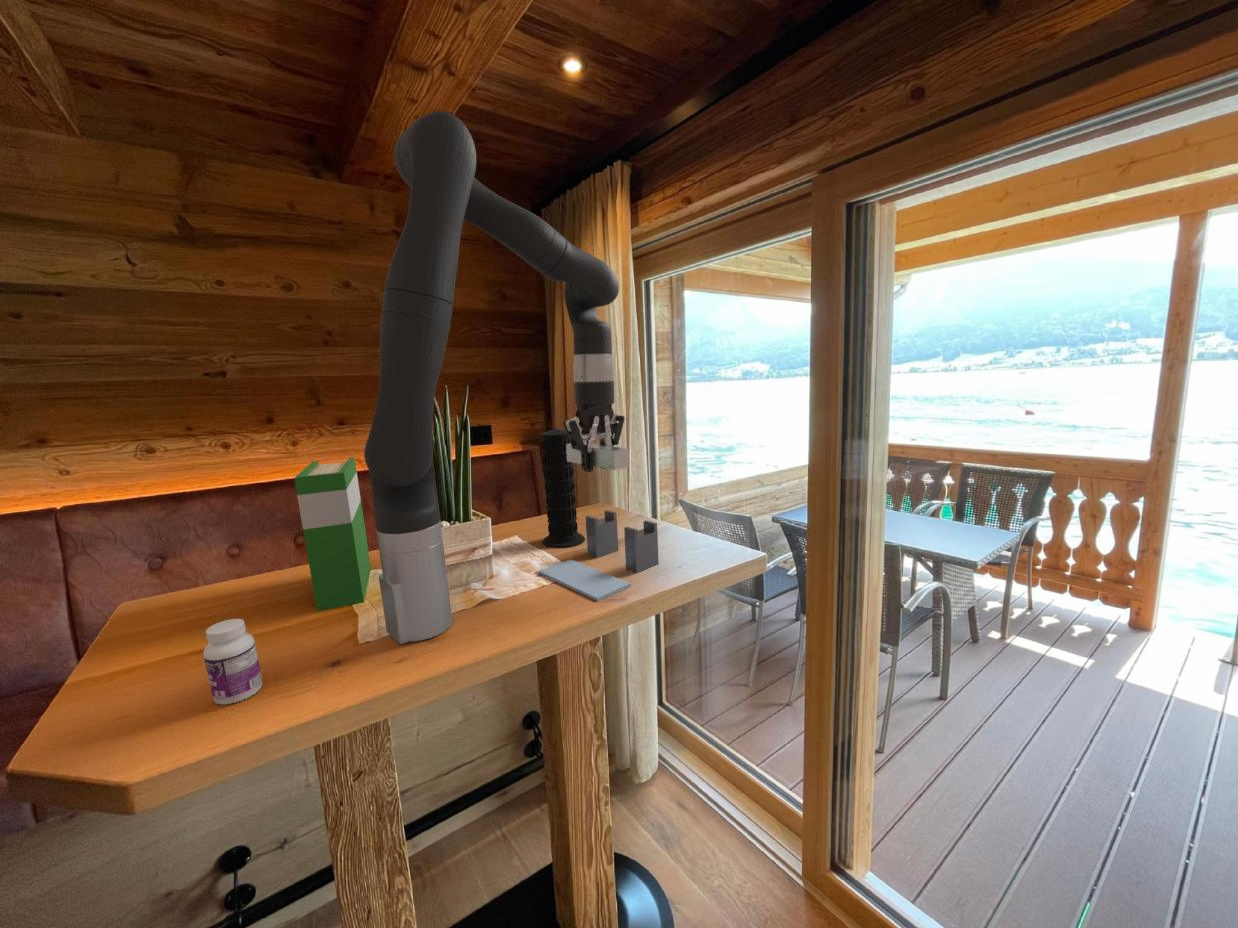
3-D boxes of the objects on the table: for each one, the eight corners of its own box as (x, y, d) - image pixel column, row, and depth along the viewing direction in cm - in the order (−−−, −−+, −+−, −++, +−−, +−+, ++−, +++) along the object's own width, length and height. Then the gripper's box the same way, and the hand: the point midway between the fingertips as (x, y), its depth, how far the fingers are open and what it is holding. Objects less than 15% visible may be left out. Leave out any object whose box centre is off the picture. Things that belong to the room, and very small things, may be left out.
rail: (614, 470, 93) (614, 450, 92) (566, 461, 103) (566, 444, 102) (628, 467, 95) (627, 448, 95) (580, 459, 105) (579, 442, 105)
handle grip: (552, 532, 127) (534, 546, 117) (544, 426, 122) (525, 431, 112) (591, 534, 124) (575, 549, 114) (584, 425, 119) (567, 431, 109)
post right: (636, 573, 100) (634, 530, 98) (626, 569, 102) (624, 527, 100) (658, 563, 104) (657, 523, 102) (647, 560, 106) (646, 520, 104)
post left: (596, 558, 109) (594, 519, 107) (587, 554, 111) (585, 516, 109) (618, 550, 113) (616, 512, 111) (609, 547, 115) (607, 509, 113)
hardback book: (331, 575, 106) (312, 461, 102) (371, 568, 109) (354, 457, 104) (317, 611, 90) (294, 477, 86) (363, 602, 93) (343, 472, 88)
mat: (597, 601, 89) (597, 597, 89) (538, 573, 102) (538, 570, 102) (630, 586, 94) (630, 583, 94) (571, 561, 107) (570, 559, 107)
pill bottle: (206, 697, 67) (191, 629, 65) (252, 676, 71) (239, 612, 69) (223, 711, 64) (207, 640, 62) (270, 688, 68) (257, 621, 66)
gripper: (576, 380, 89) (580, 478, 92) (634, 378, 98) (636, 467, 101) (551, 380, 94) (555, 472, 97) (608, 378, 104) (610, 462, 107)
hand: (596, 469), depth 99 cm, fingers closed on rail, 3 cm apart
